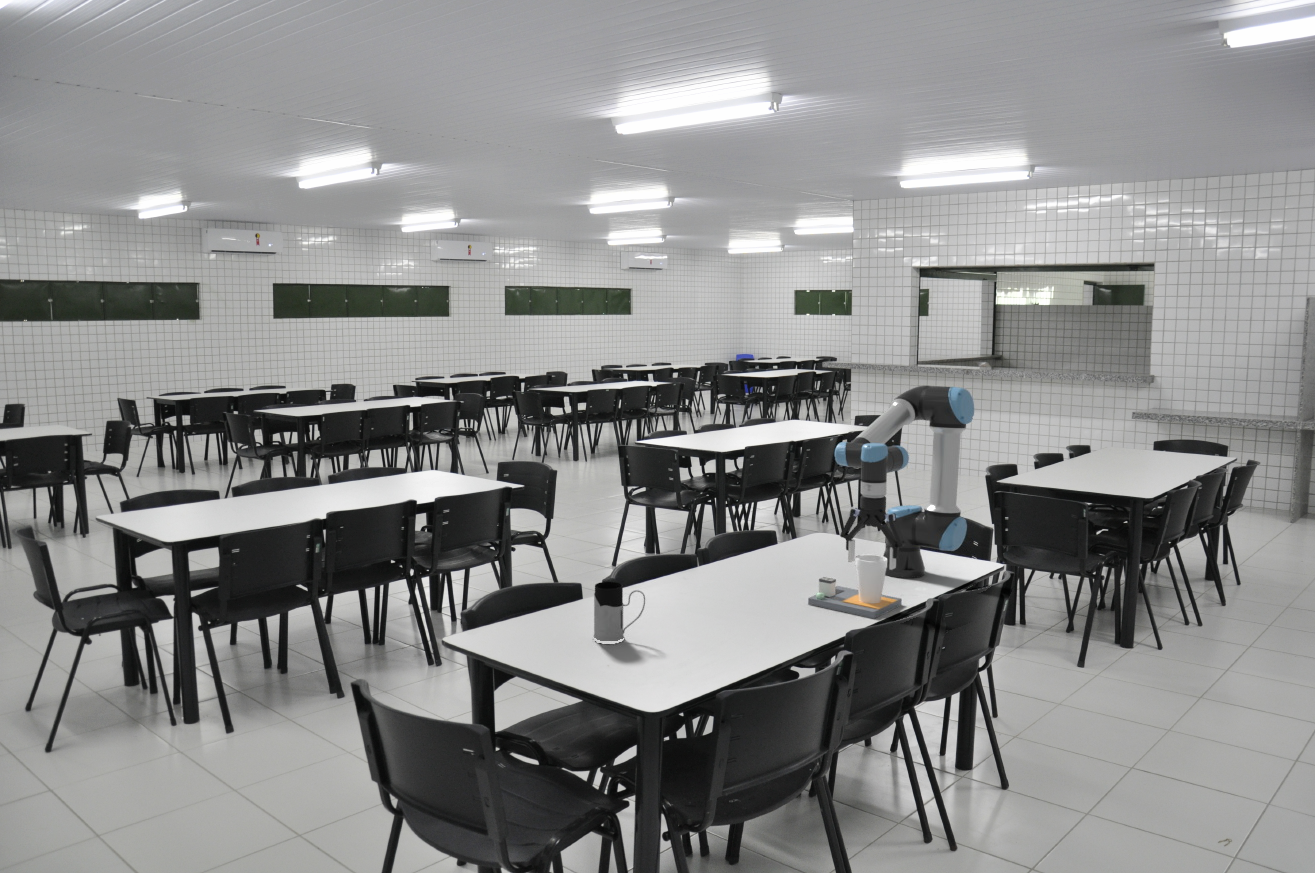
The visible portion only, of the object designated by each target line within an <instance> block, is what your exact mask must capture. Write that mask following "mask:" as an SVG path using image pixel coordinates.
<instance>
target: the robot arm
mask: <svg viewBox="0 0 1315 873" xmlns="http://www.w3.org/2000/svg"><path fill="white" fill-rule="evenodd" d="M974 416H975V402H974V399H973V396H972V394H971V393H970V391H969V390H968V389H966V388H964V387H956V386H935V385H919V386H915V387H912V388H911V389H908V390H906V391H904V392H902V393H901V394H900V395H897V397H895V398H894V399H893V400H892V401H891V402H890V403H889V404H888V409H886V410H885V411H884V412H883V413H882V414H881V415H880V416H878V417H877V418H876V419H875V420H874V421H872V423H871V424H870V425H868V426H867V427H866V428H865V429H864V430H863V431H862V432H860V433H859V435H857V436H856V437H855V438H854V439H853V440H851V442H848V441H842V442H839V443H838V444H837V445H836V447H835V449H834V460H835V462H836V464H837V465H840V466H843V467H847V468H858V469H860V495H861V496H860V503H859V504H860V505H859V507H860V509H858V508H857V507H855V508H852V509H850V512H849V517H848V518H847V521H846V523H845V525H844V527H842V528H843V529H841V530H842V531H840V532H841V533H840V537H841V538H843V539H845V549H846V551H848V554H847V555H848V556H847V557H848V558H847V560H848V561H847V562H848V563H852V562H855V561H856V539H855V536H856V535H858V533H859V532H860V531H861V530H862V529H863V527H864V526H866V527H873V528H878V529H879V530H880V531H881V533H882V534H883V535H884V536H885V549H884V553H883V555H882V556H883V557H886V558H887V568H886V573H885V576H888V577H893V578H894V577H895V578H901V579H902V578H904V579H906V578H907V579H908V578H909V579H911V578H912V579H913V578H920V577H923V576H924V575H925V574H926V573H925V572H926V571H925V570H926V568H925V564H924V560H923V556H922V553H921V547H925V548H931V549H935V550H936V549H937V550H940V551H948V552H949V551H950V552H954V551H956V550H958V549H959V548H960V547H961V545H962V544H963V542H964V541H965V538H966V535H967V529H968V523H967V520H966V519H965V518H964V516H963V517H962V516H961V512H962V511H961V509H960V508H959V507H958V505H957V502H958V501H957V498H958V497H957V496H958V484H959V468H960V467H959V464H960V447H961V438H962V437H961V436H962V435H961V434H962V433H963V432H964V431H965V430H966V429H967V425H968V424H970V423H971V422H972V421H973V417H974ZM915 421H928V422H929V424H928V425H929V426H928V427H929V428H930V429H931V431H932V432H933V439H932V455H931V456H932V458H931V459H932V460H931V469H930V470H931V472H930V474H931V476H930V488H929V489H930V491H929V503H928V504H927V505H926V506H925V507H924V509H923V508H922V506H921V505H917V504H915V505H910V504H908V505H898V506H894V507H893V506H892V507H890V508H889V509H888V510H886V509H887V497H886V495H887V479H888V478H887V477H888V473H892V472H898V471H900V470H903V469H904V468H905V467H907V465H908V463H909V461H910V455H909V453H908V451H907V449H906V448H904V447H903V446H901V445H891V446H887V444H886V443H887V442H888V441H889V440H890V439H891V438H892V437H893V436H894V435H895V434H897V433H898V432H899V431H900V430H901V429H902V428H903V427H904V426H907V425H910V424H912V423H913V422H915ZM923 510H924V511H923ZM886 511H887V512H886ZM858 516H859V517H860V518H861V519H860V521H859V522H858V523H857V524H856V525H855V526H854V527H853V525H854V523H855V521H856V520H857V517H858ZM852 527H853V528H852ZM851 529H852V530H851Z"/></svg>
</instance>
